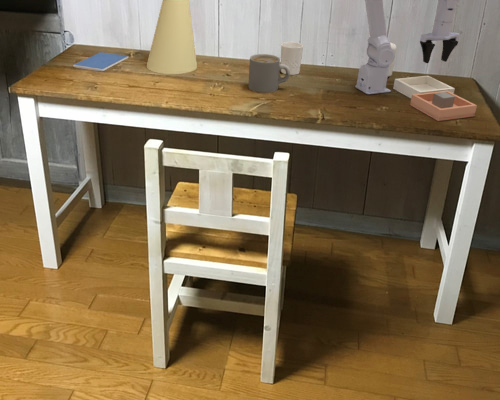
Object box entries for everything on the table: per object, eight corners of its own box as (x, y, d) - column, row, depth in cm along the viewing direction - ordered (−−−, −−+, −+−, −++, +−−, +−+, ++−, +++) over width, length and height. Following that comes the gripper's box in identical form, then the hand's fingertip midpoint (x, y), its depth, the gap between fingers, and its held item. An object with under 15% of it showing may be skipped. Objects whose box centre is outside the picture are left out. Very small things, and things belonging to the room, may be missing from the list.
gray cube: (440, 110, 176) (443, 98, 174) (431, 105, 179) (434, 93, 177) (452, 108, 177) (455, 96, 175) (442, 103, 181) (445, 92, 179)
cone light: (190, 76, 197) (189, -31, 179) (140, 71, 199) (134, -35, 181) (205, 56, 218) (205, -41, 201) (159, 52, 220) (155, -45, 202)
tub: (418, 102, 184) (420, 92, 182) (393, 88, 195) (394, 78, 193) (452, 98, 189) (454, 88, 187) (426, 85, 200) (428, 75, 198)
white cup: (277, 68, 209) (279, 41, 204) (298, 69, 210) (301, 42, 205) (280, 75, 202) (282, 47, 197) (302, 75, 203) (305, 48, 198)
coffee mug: (244, 90, 187) (246, 60, 182) (253, 81, 195) (254, 52, 190) (284, 95, 184) (286, 65, 179) (290, 86, 192) (293, 57, 187)
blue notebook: (100, 54, 216) (100, 51, 216) (130, 58, 213) (129, 55, 213) (72, 68, 200) (71, 64, 200) (103, 73, 197) (103, 69, 197)
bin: (438, 121, 170) (440, 110, 169) (410, 104, 182) (412, 94, 180) (474, 116, 175) (477, 105, 174) (444, 100, 186) (447, 90, 185)
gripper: (433, 24, 180) (424, 66, 186) (469, 22, 185) (459, 63, 192) (419, 19, 185) (411, 60, 192) (454, 17, 190) (446, 57, 197)
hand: (434, 61), depth 192 cm, fingers open, 7 cm apart
